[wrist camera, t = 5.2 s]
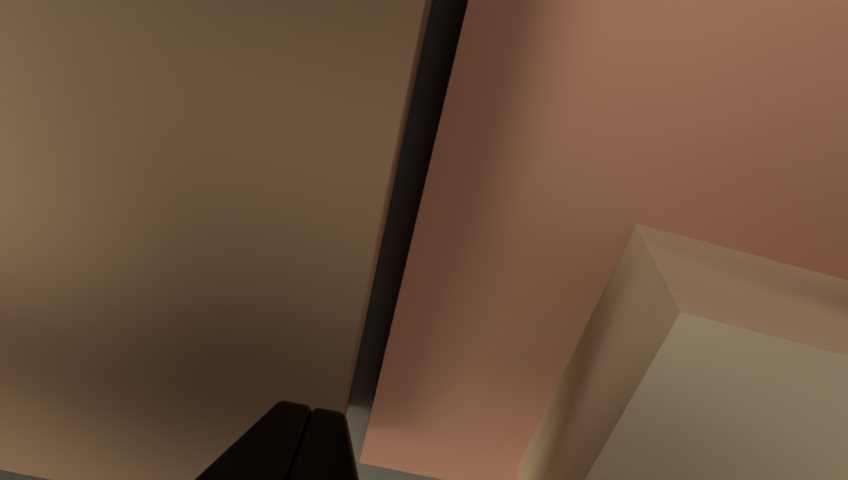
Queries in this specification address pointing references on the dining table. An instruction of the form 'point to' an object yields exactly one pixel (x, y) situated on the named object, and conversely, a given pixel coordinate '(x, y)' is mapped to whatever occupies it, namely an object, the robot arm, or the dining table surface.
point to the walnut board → (188, 219)
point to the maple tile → (702, 372)
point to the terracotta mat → (596, 194)
